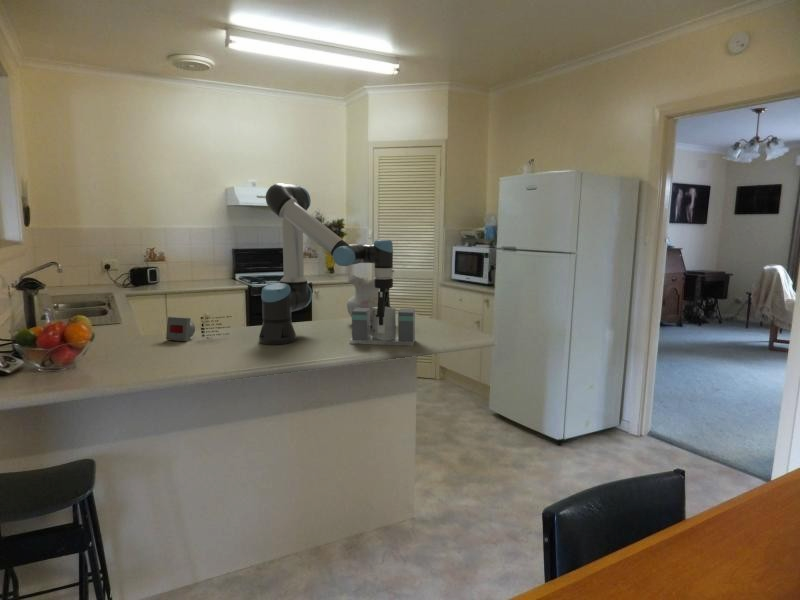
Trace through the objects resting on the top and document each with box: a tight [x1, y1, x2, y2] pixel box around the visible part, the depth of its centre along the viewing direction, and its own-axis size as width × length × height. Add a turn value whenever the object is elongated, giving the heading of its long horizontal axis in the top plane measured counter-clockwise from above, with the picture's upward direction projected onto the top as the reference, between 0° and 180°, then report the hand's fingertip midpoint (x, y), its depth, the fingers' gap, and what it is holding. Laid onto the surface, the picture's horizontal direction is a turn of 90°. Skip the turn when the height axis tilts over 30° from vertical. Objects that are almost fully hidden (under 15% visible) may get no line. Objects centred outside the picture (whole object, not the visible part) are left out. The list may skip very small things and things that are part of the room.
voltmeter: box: [165, 315, 233, 342], centre depth 218 cm, size 27×11×10 cm, turn 110°
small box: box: [371, 306, 397, 341], centre depth 211 cm, size 8×6×13 cm
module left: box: [351, 308, 371, 340], centre depth 212 cm, size 6×8×12 cm
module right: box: [397, 308, 416, 342], centre depth 210 cm, size 6×8×12 cm
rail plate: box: [349, 335, 416, 347], centre depth 212 cm, size 26×9×2 cm, turn 83°
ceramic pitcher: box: [346, 274, 391, 327], centre depth 247 cm, size 22×20×25 cm
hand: (383, 329), depth 212 cm, fingers open, 13 cm apart
